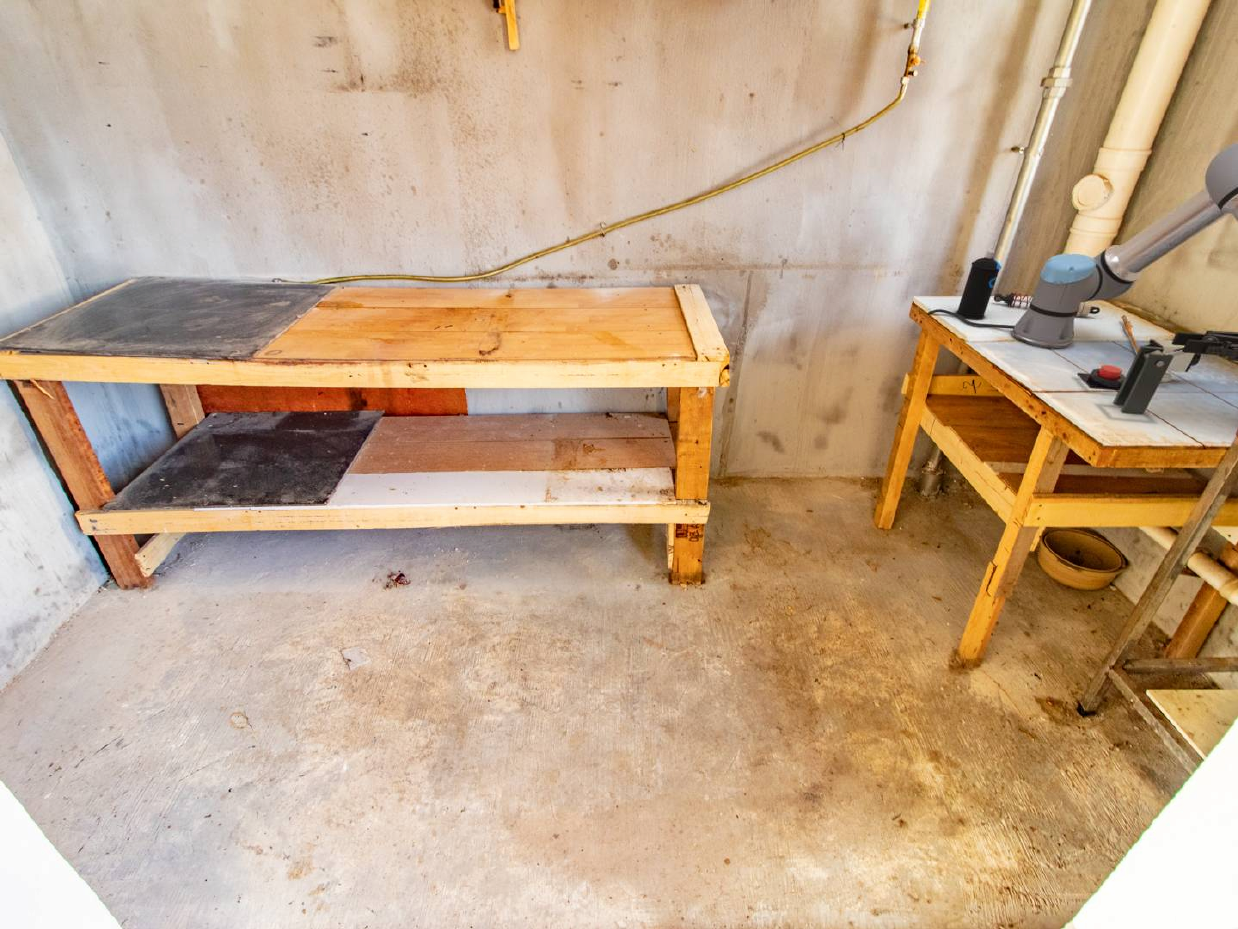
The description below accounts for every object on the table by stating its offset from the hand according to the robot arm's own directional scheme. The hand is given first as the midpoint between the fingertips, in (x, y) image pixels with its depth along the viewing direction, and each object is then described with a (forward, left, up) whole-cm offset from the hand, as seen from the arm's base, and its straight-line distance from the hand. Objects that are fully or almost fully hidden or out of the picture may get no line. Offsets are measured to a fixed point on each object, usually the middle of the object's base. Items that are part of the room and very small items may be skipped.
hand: (1180, 342), depth 142 cm
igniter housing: (-7, +12, -18) cm, 23 cm away
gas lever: (+2, +1, -4) cm, 4 cm away
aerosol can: (-42, +50, -18) cm, 68 cm away
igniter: (-7, +12, -15) cm, 21 cm away
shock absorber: (-22, +68, -18) cm, 73 cm away
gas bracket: (-3, -1, -18) cm, 19 cm away
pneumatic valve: (+4, +22, -18) cm, 29 cm away
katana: (+1, +52, -18) cm, 55 cm away
